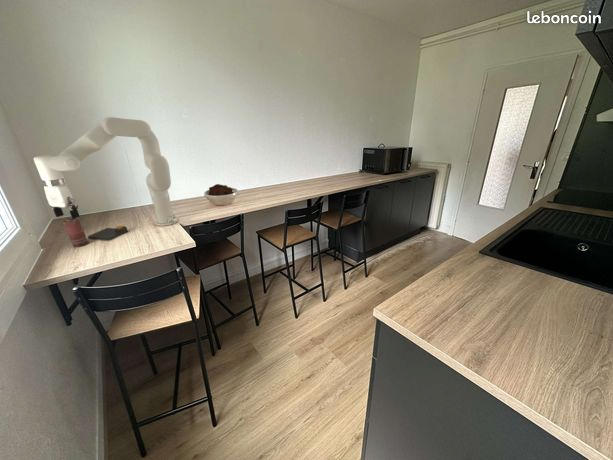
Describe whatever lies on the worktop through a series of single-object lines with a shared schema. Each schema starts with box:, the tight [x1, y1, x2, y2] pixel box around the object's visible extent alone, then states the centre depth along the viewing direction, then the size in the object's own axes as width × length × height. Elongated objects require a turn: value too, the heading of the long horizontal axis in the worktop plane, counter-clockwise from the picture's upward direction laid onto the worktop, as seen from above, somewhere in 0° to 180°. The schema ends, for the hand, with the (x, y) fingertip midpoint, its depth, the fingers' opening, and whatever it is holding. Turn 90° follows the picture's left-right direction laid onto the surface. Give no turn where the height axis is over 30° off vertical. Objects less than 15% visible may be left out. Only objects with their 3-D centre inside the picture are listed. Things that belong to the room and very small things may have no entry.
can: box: [62, 217, 89, 248], centre depth 129 cm, size 6×6×14 cm
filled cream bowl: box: [203, 183, 239, 206], centre depth 192 cm, size 25×25×15 cm
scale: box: [86, 225, 128, 241], centre depth 142 cm, size 15×13×3 cm
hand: (68, 216), depth 125 cm, fingers open, 9 cm apart
